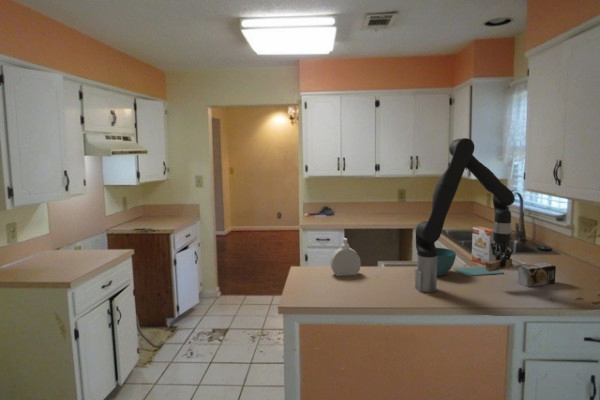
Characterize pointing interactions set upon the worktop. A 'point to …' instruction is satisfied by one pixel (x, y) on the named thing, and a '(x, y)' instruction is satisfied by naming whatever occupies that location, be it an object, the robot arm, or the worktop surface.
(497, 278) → the worktop surface
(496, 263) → the tall cardboard-brown block
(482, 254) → the cracker box
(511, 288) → the worktop surface
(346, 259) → the soap bottle
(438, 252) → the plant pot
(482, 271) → the mat
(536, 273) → the coffee box
